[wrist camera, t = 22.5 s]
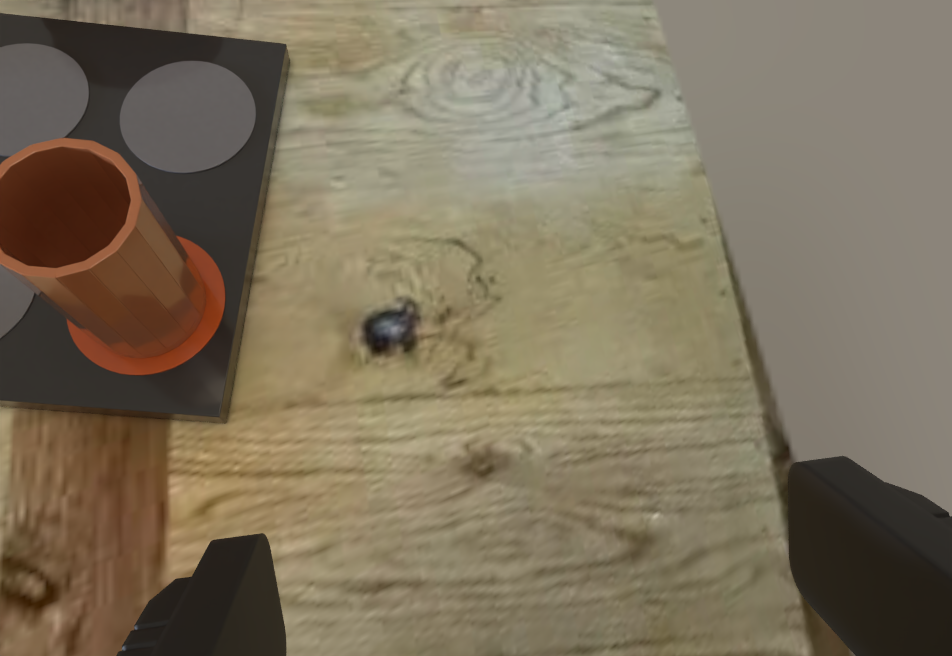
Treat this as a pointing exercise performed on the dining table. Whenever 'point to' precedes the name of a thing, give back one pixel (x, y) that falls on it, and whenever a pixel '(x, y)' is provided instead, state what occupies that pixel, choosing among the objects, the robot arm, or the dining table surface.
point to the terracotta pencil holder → (97, 247)
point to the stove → (168, 183)
